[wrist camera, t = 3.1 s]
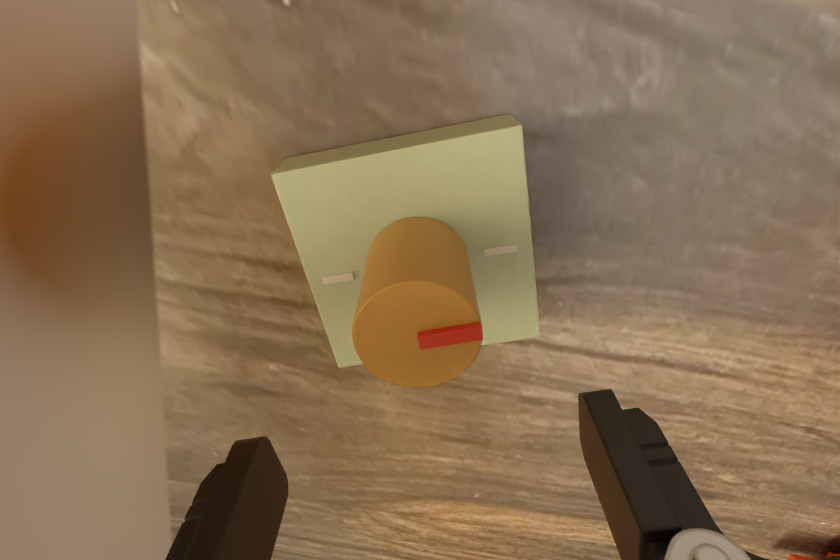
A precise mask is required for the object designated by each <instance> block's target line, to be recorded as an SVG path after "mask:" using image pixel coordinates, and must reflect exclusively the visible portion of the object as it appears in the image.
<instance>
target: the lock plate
mask: <svg viewBox="0 0 840 560" xmlns="http://www.w3.org/2000/svg"><path fill="white" fill-rule="evenodd" d="M271 177H272V180H273V183H274V186H275V188H276V191H277V194H278V197H279V200H280V203H281V205H282V208H283V211H284V214H285V217H286V220H287V223H288V225H289V228H290V231H291V234H292V237H293V240H294V242H295V245H296V248H297V251H298V254H299V257H300V260H301V262H302V265H303V268H304V271H305V274H306V277H307V279H308V282H309V285H310V288H311V291H312V294H313V297H314V299H315V302H316V305H317V308H318V311H319V314H320V316H321V319H322V322H323V325H324V328H325V331H326V334H327V336H328V339H329V342H330V345H331V348H332V351H333V353H334V356H335V359H336V362H337V365H338V367H339V368H342V367H348V366H355V365H361V364H363V363H362V361H361V360H360V358H359V357H358V355H357V353H356V351H355V348H354V345H353V341H352V326H353V321H354V317H355V312H356V307H357V303H358V298H359V293H360V289H361V284H362V280H363V275H364V270H365V266H366V261H367V256H368V252H369V249H370V246H371V244H372V242H373V241H374V239H375V238H376V236H377V235H378V234H379V233H380V232H381V231H382V230H383V229H384V228H386V227H387V226H388V225H390V224H392V223H394V222H396V221H399V220H402V219H406V218H412V217H423V218H430V219H434V220H437V221H439V222H442V223H443V224H445V225H447V226H449V227H450V228H451V229H453V230H454V231H455V232H456V233H457V234H458V236H459V237H460V238H461V239H462V241H463V243H464V245H465V247H466V250H467V254H468V258H469V263H470V268H471V273H472V278H473V283H474V288H475V293H476V298H477V303H478V308H479V313H480V318H481V323H482V329H483V340H482V344H481V346H484V345H490V344H496V343H503V342H509V341H516V340H522V339H529V338H535V337H540V325H539V314H538V302H537V290H536V279H535V267H534V256H533V244H532V233H531V221H530V210H529V198H528V187H527V175H526V164H525V152H524V141H523V129H522V125H521V124H520V123H519V122H518V121H517V120H516V119H515V117H514V116H513V115H512V114H505V115H500V116H495V117H490V118H485V119H480V120H475V121H470V122H465V123H460V124H455V125H450V126H445V127H440V128H435V129H430V130H425V131H420V132H415V133H410V134H405V135H400V136H395V137H390V138H385V139H380V140H374V141H369V142H364V143H359V144H354V145H349V146H344V147H339V148H334V149H329V150H324V151H319V152H314V153H309V154H304V155H299V156H294V157H289V158H286V159H285V160H284V161H283V162H282V163H281V164H280V165H279V166H278V167H277V168H276V169H275V170H274V172H273V173H272V174H271Z"/></svg>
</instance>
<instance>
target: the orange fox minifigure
mask: <svg viewBox="0 0 840 560" xmlns="http://www.w3.org/2000/svg"><path fill="white" fill-rule="evenodd" d="M836 555H840V554H838V553H833V552H829V553H828V555H827V558H828V557H831V556H836ZM788 560H820V559H814V558H809V557H804V556H799V555H793V554H791V555H790V557H789V559H788Z"/></svg>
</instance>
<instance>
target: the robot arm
mask: <svg viewBox="0 0 840 560" xmlns="http://www.w3.org/2000/svg"><path fill="white" fill-rule="evenodd" d="M578 402H579V427H580V441H581V447H582V451H583V455H584V459H585V462H586V465H587V467H588V470H589V473H590V476H591V478H592V481H593V484H594V486H595V489H596V492H597V494H598V497H599V500H600V503H601V505H602V508H603V511H604V513H605V516H606V519H607V522H608V524H609V527H610V530H611V532H612V535H613V538H614V540H615V543H616V546H617V549H618V551H619V554H620V557H621V559H622V560H768V559H764V558H761V557H758V556H756V555H753V554H751V553H749V552H747V551H745V550H744V549H742V548H741V547H740V546H739V545H738V544H736V543H735V542H734V541H732V540H731V539H729V538H728V537H726V536H725V535H724V534H723V533H722V532H721V531H720V529H719V528H718V527H717V525H716V524H715V522H714V521H713V519H712V517H711V516H710V514H709V512H708V510H707V509H706V507H705V505H704V504H703V502H702V500H701V498H700V497H699V495H698V493H697V492H696V490H695V488H694V486H693V485H692V483H691V481H690V479H689V478H688V476H687V474H686V473H685V471H684V469H683V467H682V466H681V464H680V462H678V461H677V457H676V455H675V454H674V452H673V450H672V448H671V447H670V446H669V445H668V442H667V440H666V438H665V436H664V435H663V433H662V431H661V429H660V428H659V426H658V424H657V423H656V422H655V421H654V420H653V419H651V418H650V417H649V416H648V415H646V414H645V413H644V412H643V411H642V410H640V409H639V408H633V409H626V410H622V409H621V407H620V405H619V403H618V401H617V399H616V397H615V395H614V393H613V392H612V390H611V389H606V390H599V391H592V392H584V393H579V396H578ZM287 498H288V480H287V476H286V473H285V471H284V469H283V467H282V465H281V463H280V461H279V459H278V457H277V454H276V452H275V450H274V448H273V446H272V444H271V442H270V440H269V439H268V438H267V437H257V438H250V439H243V440H237V441H235V442H234V444H233V445H232V447H231V449H230V452H229V454H228V456H227V459H226V461H225V463H222V464H217V465H216V466H215V467H214V468H213V470H212V471H211V472H210V473H209V474H208V475H207V477H206V478H205V479H204V480H203V481H202V482H201V484H200V487H199V489H198V491H197V493H196V495H195V497H194V499H193V502H192V503H193V505H192V506H190V508H189V510H188V512H187V514H186V517H185V522H184V523H182V525H181V527H180V529H179V532H178V534H177V536H176V538H175V540H174V542H173V544H172V547H171V549H170V551H169V553H168V555H167V558H166V559H165V560H271V557H272V553H273V549H274V546H275V542H276V538H277V535H278V531H279V527H280V524H281V520H282V516H283V513H284V509H285V506H286V502H287ZM824 560H840V555H836V556H831V557H828V558H825V559H824Z"/></svg>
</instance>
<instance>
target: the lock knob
mask: <svg viewBox="0 0 840 560" xmlns="http://www.w3.org/2000/svg"><path fill="white" fill-rule="evenodd" d="M482 340H483V329H482V323H481V318H480V313H479V308H478V303H477V298H476V293H475V288H474V283H473V278H472V273H471V268H470V263H469V258H468V254H467V250H466V247H465V245H464V243H463V241H462V239H461V238H460V237H459V236H458V234H457V233H456V232H455V231H454V230H453V229H451V228H450V227H449V226H447V225H445V224H443V223H442V222H439V221H437V220H434V219H430V218H423V217H412V218H406V219H402V220H399V221H396V222H394V223H392V224H390V225H388V226H387V227H386V228H384V229H383V230H382V231H381V232H380V233H379V234H378V235H377V236H376V238H375V239H374V241H373V242H372V244H371V246H370V249H369V252H368V256H367V261H366V266H365V270H364V275H363V280H362V284H361V289H360V293H359V298H358V303H357V307H356V312H355V317H354V321H353V326H352V341H353V345H354V348H355V351H356V353H357V355H358V357H359V358H360V360H361V361H362V363H363V364H364V365H365V366H366V367H367V368H368V369H369V370H370V371H371V372H372V373H374V374H375V375H376V376H378V377H380V378H381V379H383V380H385V381H387V382H390V383H393V384H396V385H400V386H404V387H414V388H421V387H430V386H435V385H439V384H442V383H445V382H447V381H450V380H452V379H454V378H455V377H457V376H459V375H460V374H461V373H463V372H464V371H465V370H466V369H467V368H468V367H469V366H470V365H471V364H472V362H473V361H474V360H475V358H476V356H477V355H478V352H479V350H480V348H481V344H482Z"/></svg>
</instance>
